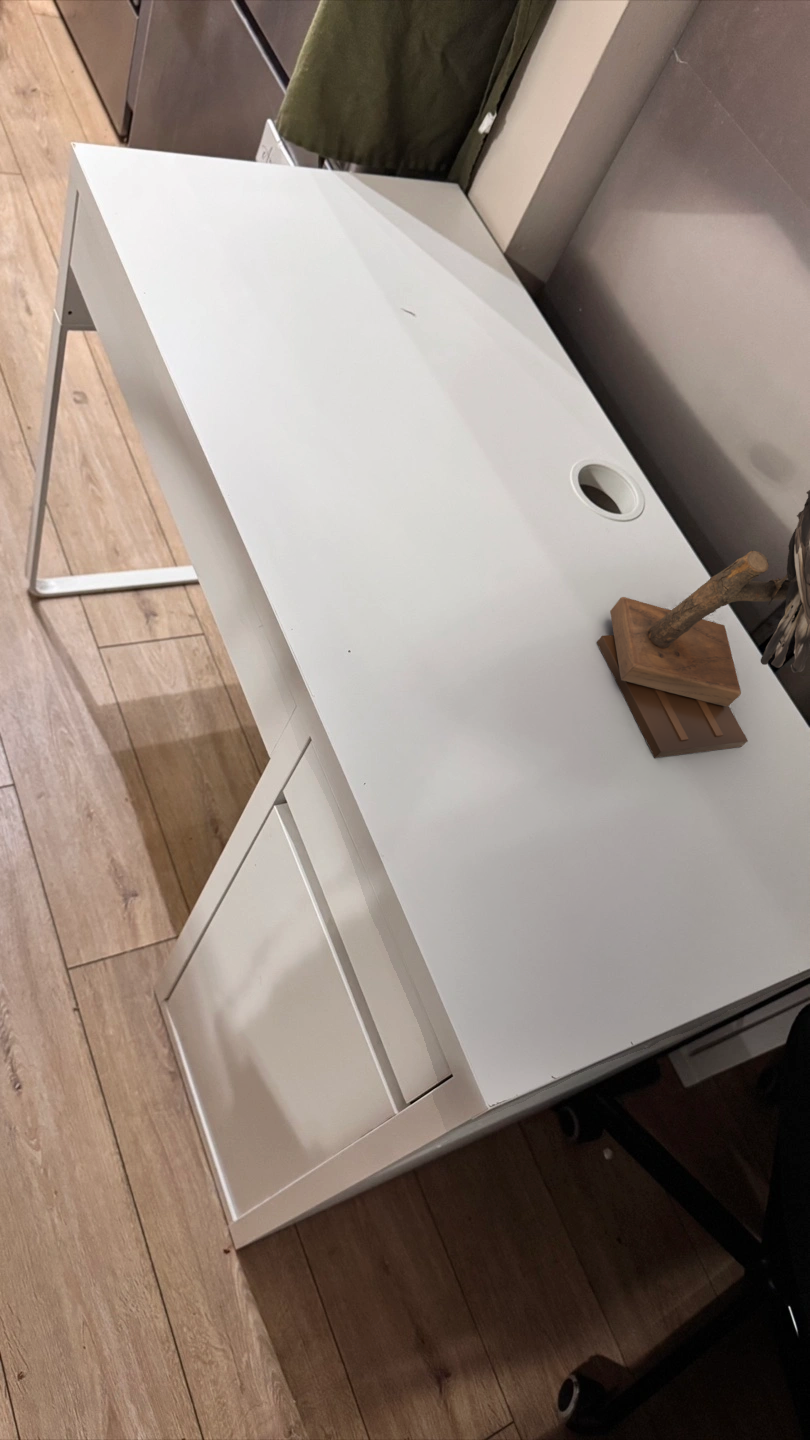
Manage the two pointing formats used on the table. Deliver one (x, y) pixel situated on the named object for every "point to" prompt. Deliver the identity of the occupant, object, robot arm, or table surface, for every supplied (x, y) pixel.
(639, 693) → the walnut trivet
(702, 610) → the bird figurine
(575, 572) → the table surface
